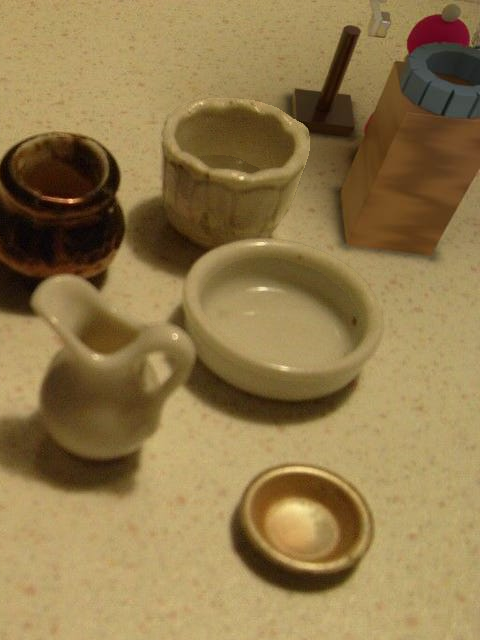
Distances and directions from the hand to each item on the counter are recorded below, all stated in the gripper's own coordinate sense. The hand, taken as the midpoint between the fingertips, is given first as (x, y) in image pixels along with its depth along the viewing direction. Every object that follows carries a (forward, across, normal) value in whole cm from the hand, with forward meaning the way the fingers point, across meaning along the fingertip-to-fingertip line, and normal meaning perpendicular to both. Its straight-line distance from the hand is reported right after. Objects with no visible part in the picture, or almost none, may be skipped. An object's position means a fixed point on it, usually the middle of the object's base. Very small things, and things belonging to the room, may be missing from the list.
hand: (427, 40), depth 79 cm
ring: (+5, -4, 0) cm, 6 cm away
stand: (+22, +2, -19) cm, 29 cm away
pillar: (+22, -4, 0) cm, 22 cm away
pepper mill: (+22, -5, -11) cm, 25 cm away
